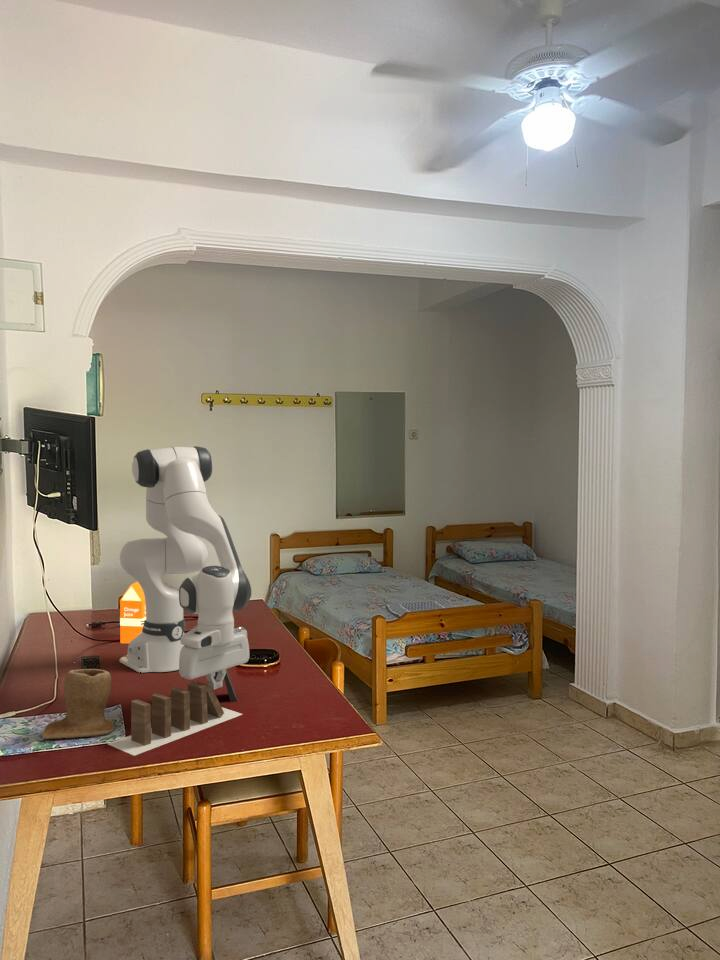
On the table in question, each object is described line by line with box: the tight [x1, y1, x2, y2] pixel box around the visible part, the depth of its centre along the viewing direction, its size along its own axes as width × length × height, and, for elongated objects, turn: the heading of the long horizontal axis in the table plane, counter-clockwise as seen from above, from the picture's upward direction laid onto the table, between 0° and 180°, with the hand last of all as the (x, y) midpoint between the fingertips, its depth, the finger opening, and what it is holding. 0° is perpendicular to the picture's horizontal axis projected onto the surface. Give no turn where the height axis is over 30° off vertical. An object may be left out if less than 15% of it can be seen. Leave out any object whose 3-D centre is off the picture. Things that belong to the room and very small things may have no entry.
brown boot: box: [42, 668, 115, 740], centre depth 178 cm, size 15×12×15 cm
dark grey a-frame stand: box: [206, 670, 238, 703], centre depth 200 cm, size 9×6×12 cm, turn 104°
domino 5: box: [196, 681, 224, 718], centre depth 187 cm, size 2×5×9 cm, turn 52°
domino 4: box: [187, 681, 208, 724], centre depth 184 cm, size 2×5×9 cm, turn 52°
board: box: [107, 706, 243, 757], centre depth 180 cm, size 10×32×1 cm, turn 142°
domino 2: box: [151, 692, 171, 738], centre depth 176 cm, size 2×5×9 cm, turn 52°
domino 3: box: [170, 687, 190, 731], centre depth 180 cm, size 2×5×9 cm, turn 52°
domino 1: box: [130, 699, 152, 746], centre depth 171 cm, size 2×5×9 cm, turn 53°
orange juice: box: [119, 581, 146, 645], centre depth 260 cm, size 8×9×20 cm
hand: (215, 688), depth 188 cm, fingers closed
